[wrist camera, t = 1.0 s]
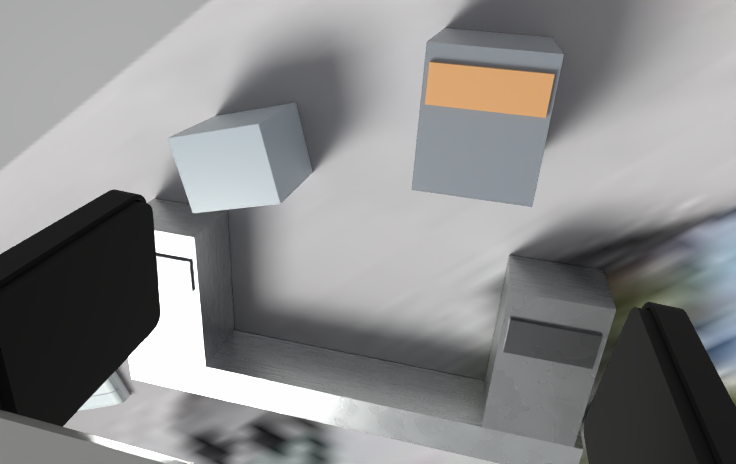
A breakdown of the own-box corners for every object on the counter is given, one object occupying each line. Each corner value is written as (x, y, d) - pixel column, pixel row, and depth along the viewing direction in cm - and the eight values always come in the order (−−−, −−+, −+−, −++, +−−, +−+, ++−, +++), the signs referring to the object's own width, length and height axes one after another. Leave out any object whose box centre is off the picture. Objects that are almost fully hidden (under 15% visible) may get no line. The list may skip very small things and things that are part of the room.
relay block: (296, 102, 30) (258, 123, 25) (313, 171, 31) (280, 203, 27) (216, 115, 31) (167, 138, 27) (236, 181, 33) (192, 213, 28)
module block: (552, 37, 25) (564, 54, 19) (527, 160, 28) (532, 208, 22) (445, 27, 26) (425, 42, 20) (431, 147, 29) (410, 191, 23)
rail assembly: (613, 271, 29) (628, 314, 26) (566, 428, 34) (573, 483, 30) (147, 197, 34) (103, 223, 31) (165, 343, 39) (129, 380, 36)
